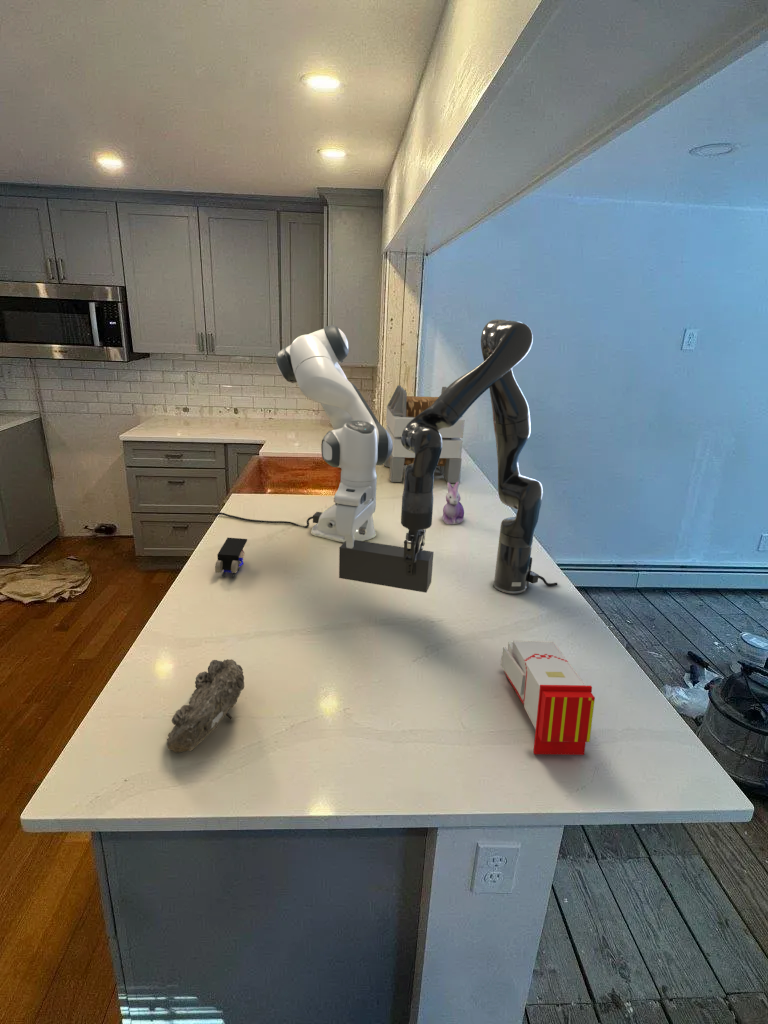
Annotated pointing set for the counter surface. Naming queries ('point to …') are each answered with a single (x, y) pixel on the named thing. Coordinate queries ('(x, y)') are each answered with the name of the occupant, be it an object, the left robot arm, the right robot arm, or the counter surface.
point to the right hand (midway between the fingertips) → (413, 569)
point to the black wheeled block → (230, 556)
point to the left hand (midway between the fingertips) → (356, 540)
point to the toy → (550, 696)
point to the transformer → (449, 462)
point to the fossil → (206, 705)
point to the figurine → (453, 506)
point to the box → (384, 566)
